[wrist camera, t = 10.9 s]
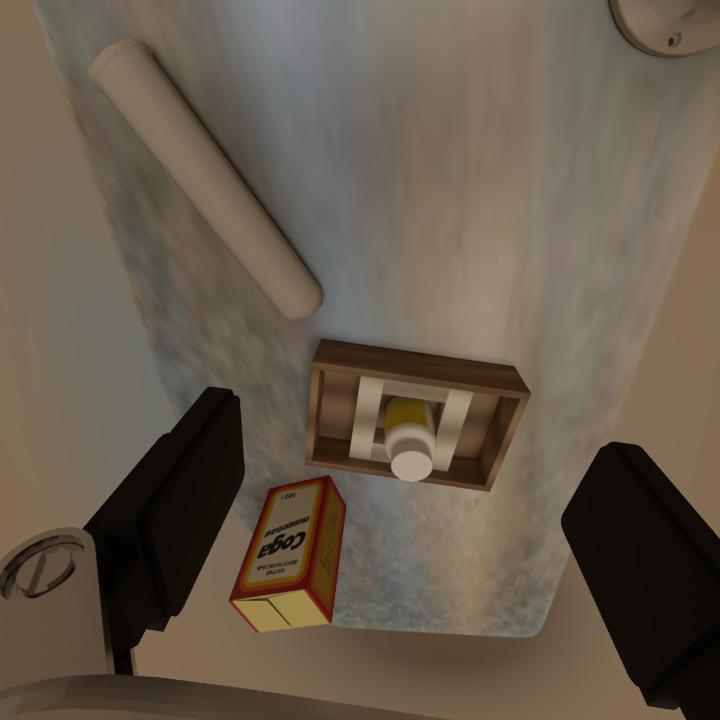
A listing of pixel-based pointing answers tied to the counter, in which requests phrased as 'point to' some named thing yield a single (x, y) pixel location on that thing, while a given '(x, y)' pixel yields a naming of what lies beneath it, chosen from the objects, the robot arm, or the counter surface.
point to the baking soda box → (292, 558)
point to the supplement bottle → (409, 437)
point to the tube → (203, 174)
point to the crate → (415, 380)
